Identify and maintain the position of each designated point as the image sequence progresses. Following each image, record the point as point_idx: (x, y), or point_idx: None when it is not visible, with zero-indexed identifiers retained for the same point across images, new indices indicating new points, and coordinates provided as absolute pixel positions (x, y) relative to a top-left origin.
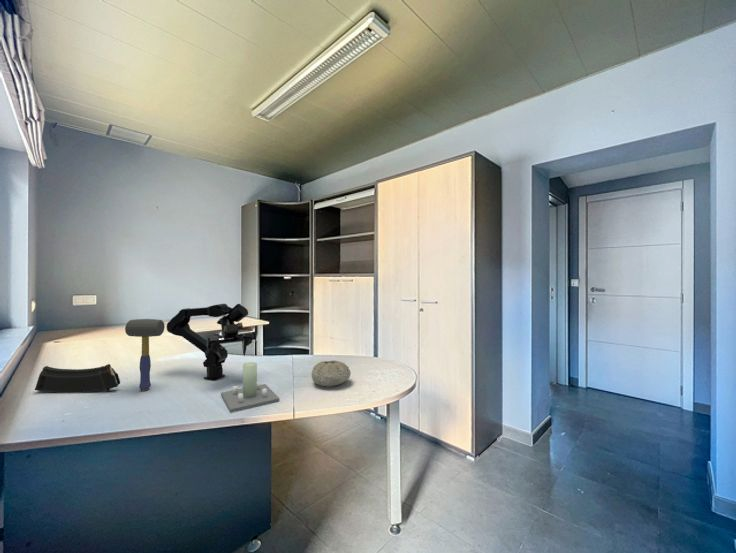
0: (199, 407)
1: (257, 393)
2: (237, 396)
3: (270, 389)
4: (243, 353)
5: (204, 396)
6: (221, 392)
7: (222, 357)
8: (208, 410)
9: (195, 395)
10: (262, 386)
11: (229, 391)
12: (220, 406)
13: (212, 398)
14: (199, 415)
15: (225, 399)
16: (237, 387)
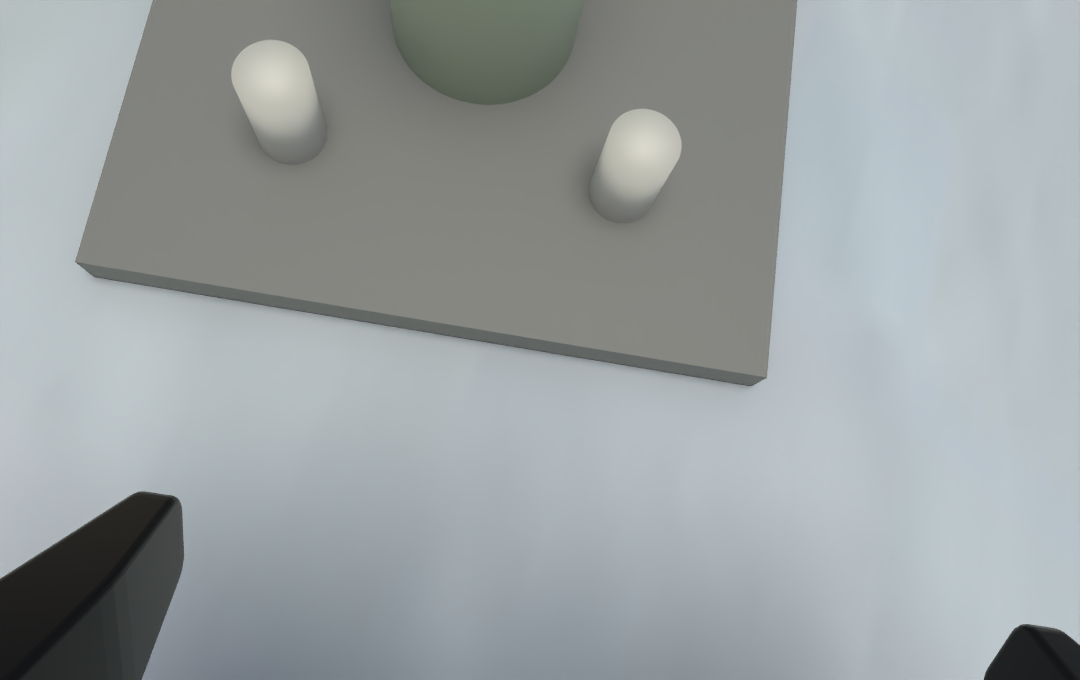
0: (1042, 197)
1: (373, 7)
2: (628, 90)
3: (155, 9)
4: (137, 644)
5: (941, 509)
6: (760, 375)
7: (1027, 627)
8: (971, 56)
9: None
10: (176, 191)
11: (654, 335)
12: (841, 65)
13: (866, 363)
14: (1066, 6)
15: (782, 104)
16: (615, 125)
